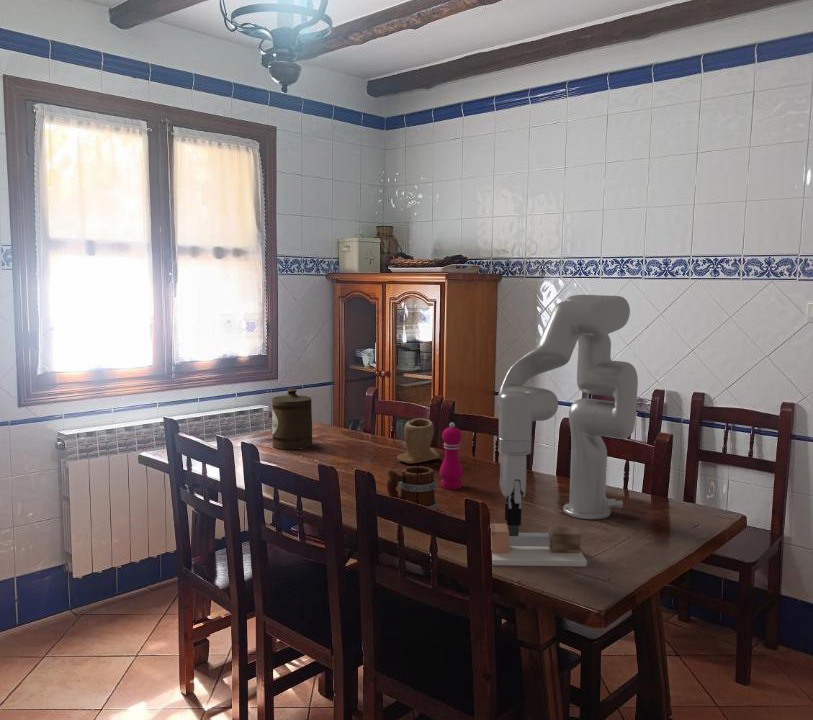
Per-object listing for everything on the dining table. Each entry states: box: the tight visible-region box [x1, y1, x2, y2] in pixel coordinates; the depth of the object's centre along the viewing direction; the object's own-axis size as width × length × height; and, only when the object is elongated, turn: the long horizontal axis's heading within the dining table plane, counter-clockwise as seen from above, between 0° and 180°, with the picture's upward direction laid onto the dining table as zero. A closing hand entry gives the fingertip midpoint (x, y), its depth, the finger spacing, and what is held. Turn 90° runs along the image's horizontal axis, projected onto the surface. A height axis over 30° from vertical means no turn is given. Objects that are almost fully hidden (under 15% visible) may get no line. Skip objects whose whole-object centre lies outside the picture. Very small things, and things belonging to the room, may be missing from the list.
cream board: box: [492, 546, 588, 567], centre depth 174 cm, size 22×14×1 cm, turn 90°
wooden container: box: [271, 387, 313, 450], centre depth 279 cm, size 15×15×22 cm
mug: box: [386, 465, 439, 511], centre depth 202 cm, size 12×14×15 cm
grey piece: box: [506, 502, 552, 547], centre depth 173 cm, size 14×2×10 cm, turn 90°
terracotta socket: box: [489, 522, 509, 553], centre depth 173 cm, size 4×6×5 cm
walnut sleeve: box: [547, 526, 582, 553], centre depth 173 cm, size 6×5×5 cm
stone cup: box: [396, 417, 440, 464], centre depth 257 cm, size 15×12×15 cm
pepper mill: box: [439, 422, 464, 490], centre depth 227 cm, size 7×7×20 cm
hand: (512, 522), depth 173 cm, fingers closed on grey piece, 2 cm apart
